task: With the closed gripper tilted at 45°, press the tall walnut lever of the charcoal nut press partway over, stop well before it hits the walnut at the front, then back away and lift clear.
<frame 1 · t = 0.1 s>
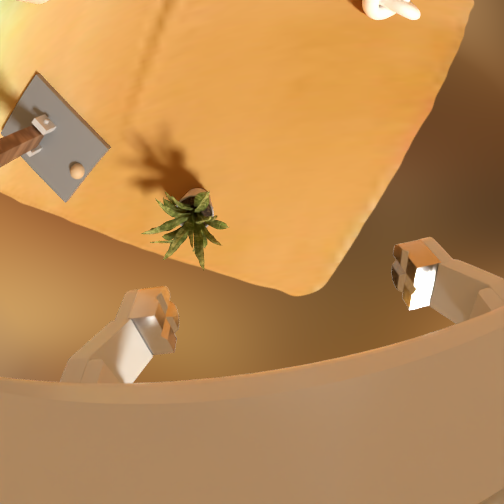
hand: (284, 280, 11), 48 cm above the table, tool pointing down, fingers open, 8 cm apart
house plant: (196, 193, 59), on the table
lever: (9, 148, 38), point 13 cm above the table, hinge at 0.0°
white knot sculpture: (382, 2, 39), on the table
press base: (46, 131, 49), on the table
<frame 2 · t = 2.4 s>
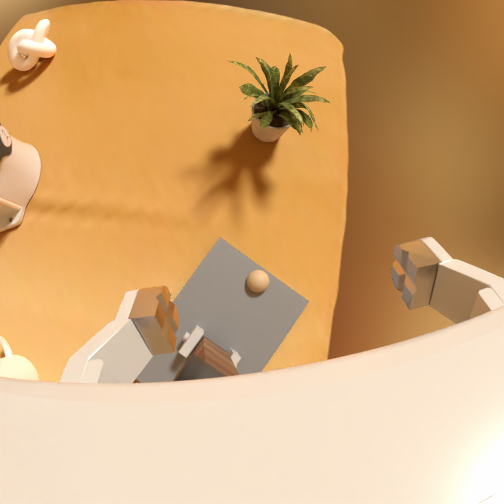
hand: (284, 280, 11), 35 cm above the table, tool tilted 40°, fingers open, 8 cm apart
house plant: (258, 131, 49), on the table
lever: (212, 369, 30), point 13 cm above the table, hinge at 0.0°
white knot sculpture: (41, 55, 45), on the table
mug: (20, 366, 37), on the table
press base: (208, 348, 43), on the table
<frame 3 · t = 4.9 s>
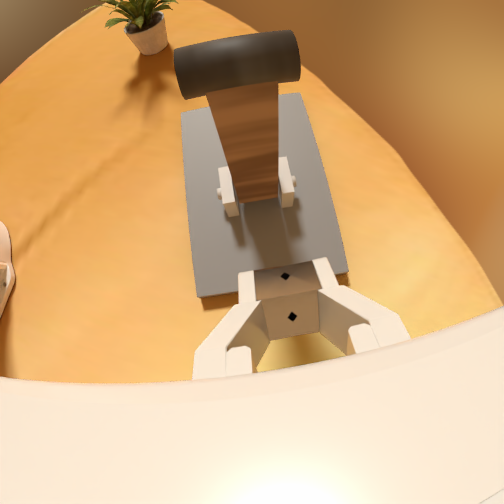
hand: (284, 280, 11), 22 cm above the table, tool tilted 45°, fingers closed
house plant: (149, 51, 43), on the table
lever: (248, 136, 22), point 13 cm above the table, hinge at 0.0°
press base: (258, 199, 35), on the table
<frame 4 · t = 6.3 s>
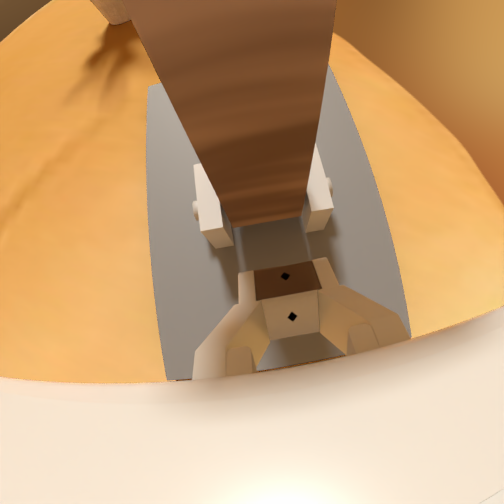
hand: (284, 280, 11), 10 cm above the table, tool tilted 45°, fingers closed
house plant: (120, 20, 30), on the table
lever: (246, 87, 9), point 13 cm above the table, hinge at 0.0°
press base: (265, 217, 21), on the table
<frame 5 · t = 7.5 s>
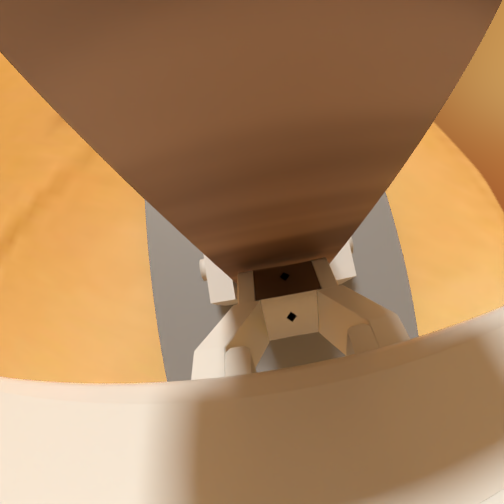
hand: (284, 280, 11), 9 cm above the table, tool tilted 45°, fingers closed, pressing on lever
lever: (270, 173, 7), point 13 cm above the table, hinge at 1.5°, touching gripper
press base: (277, 266, 20), on the table
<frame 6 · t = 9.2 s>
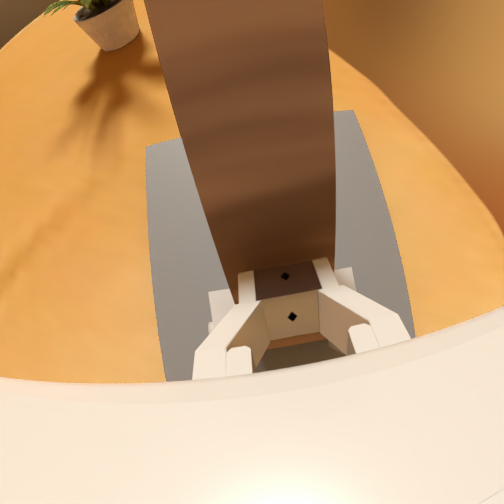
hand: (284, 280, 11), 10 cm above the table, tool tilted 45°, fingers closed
house plant: (113, 45, 28), on the table
lever: (261, 153, 10), point 11 cm above the table, hinge at 33.9°
press base: (285, 320, 19), on the table
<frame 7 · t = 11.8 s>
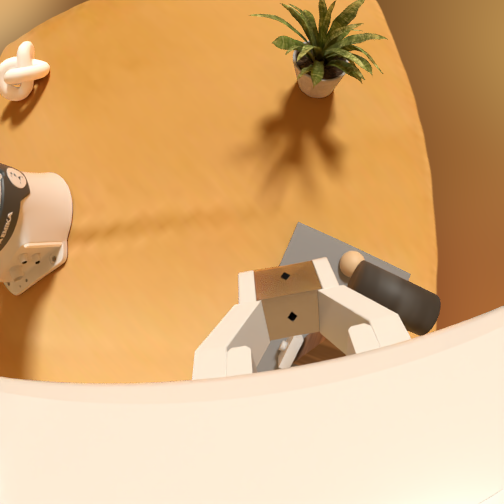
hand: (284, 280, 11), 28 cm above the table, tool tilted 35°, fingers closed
house plant: (308, 87, 38), on the table
lever: (346, 334, 26), point 11 cm above the table, hinge at 33.9°
white knot sculpture: (35, 77, 43), on the table
press base: (309, 349, 38), on the table
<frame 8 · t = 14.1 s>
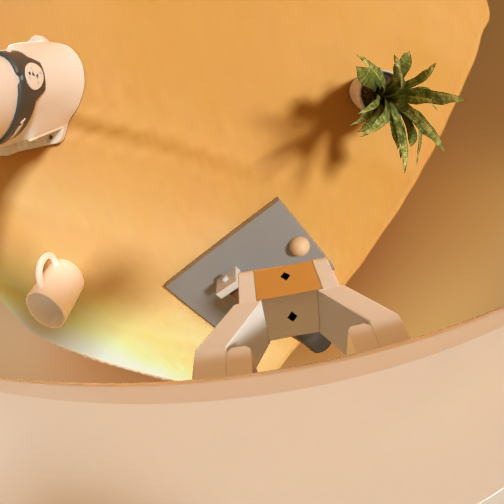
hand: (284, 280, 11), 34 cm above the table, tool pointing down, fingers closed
house plant: (356, 91, 37), on the table
lever: (271, 309, 42), point 11 cm above the table, hinge at 33.9°
mug: (64, 266, 50), on the table
press base: (240, 279, 53), on the table
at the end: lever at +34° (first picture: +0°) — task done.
